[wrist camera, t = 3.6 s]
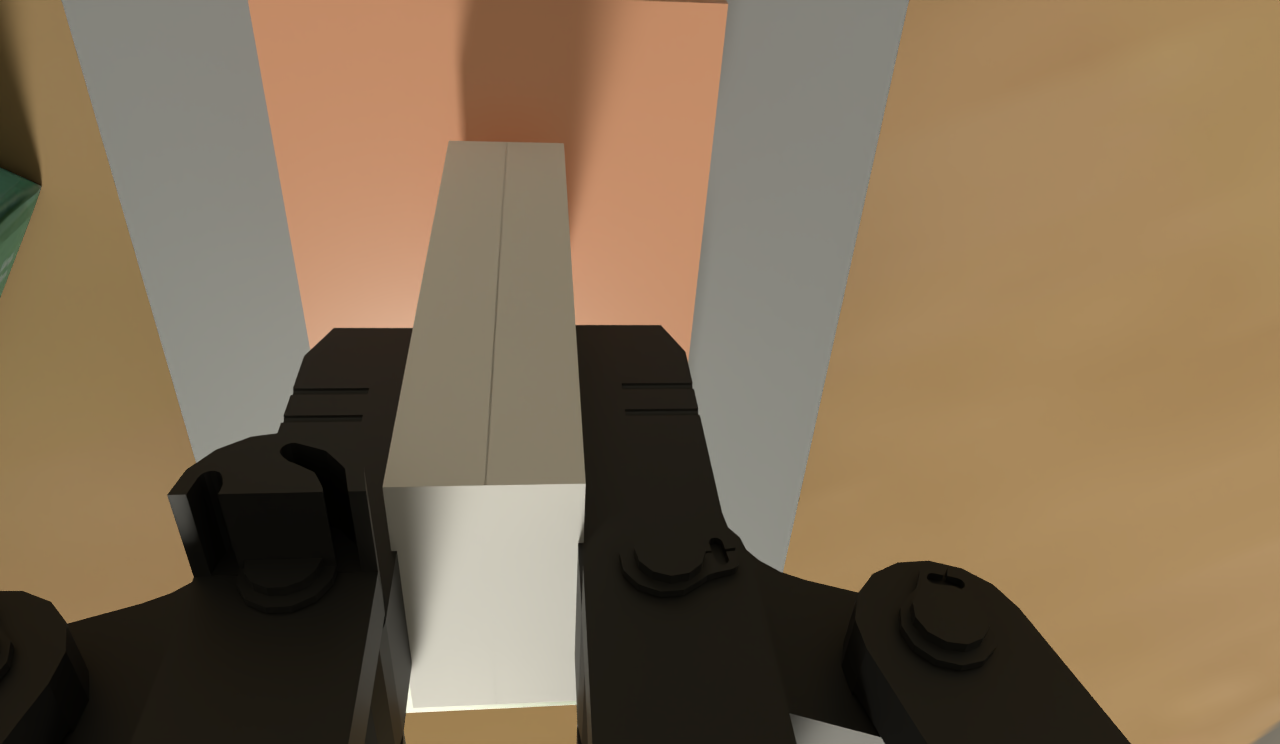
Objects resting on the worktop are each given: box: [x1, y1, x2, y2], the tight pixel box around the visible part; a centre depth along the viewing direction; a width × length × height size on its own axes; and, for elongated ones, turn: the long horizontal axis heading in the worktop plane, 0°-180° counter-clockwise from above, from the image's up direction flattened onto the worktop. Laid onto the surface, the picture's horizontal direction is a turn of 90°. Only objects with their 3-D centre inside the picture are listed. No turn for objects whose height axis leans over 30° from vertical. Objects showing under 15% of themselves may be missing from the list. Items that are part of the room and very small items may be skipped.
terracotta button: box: [248, 0, 728, 360], centre depth 15 cm, size 6×6×4 cm
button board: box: [62, 0, 909, 573], centre depth 18 cm, size 14×28×3 cm, turn 176°
